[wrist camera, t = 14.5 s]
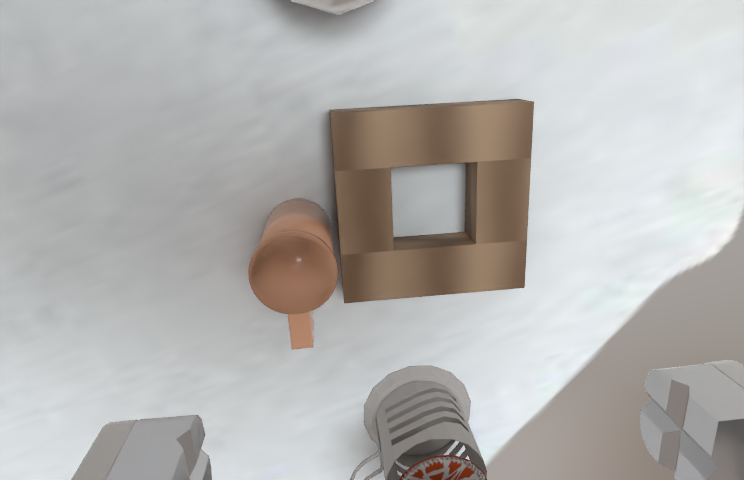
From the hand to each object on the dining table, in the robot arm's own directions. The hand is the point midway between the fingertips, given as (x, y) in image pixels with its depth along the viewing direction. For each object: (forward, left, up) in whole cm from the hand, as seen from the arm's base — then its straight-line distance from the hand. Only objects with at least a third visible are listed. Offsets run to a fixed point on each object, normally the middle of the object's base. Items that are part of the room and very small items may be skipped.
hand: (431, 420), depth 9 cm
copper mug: (-4, -7, -31) cm, 32 cm away
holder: (+6, -4, -31) cm, 32 cm away
